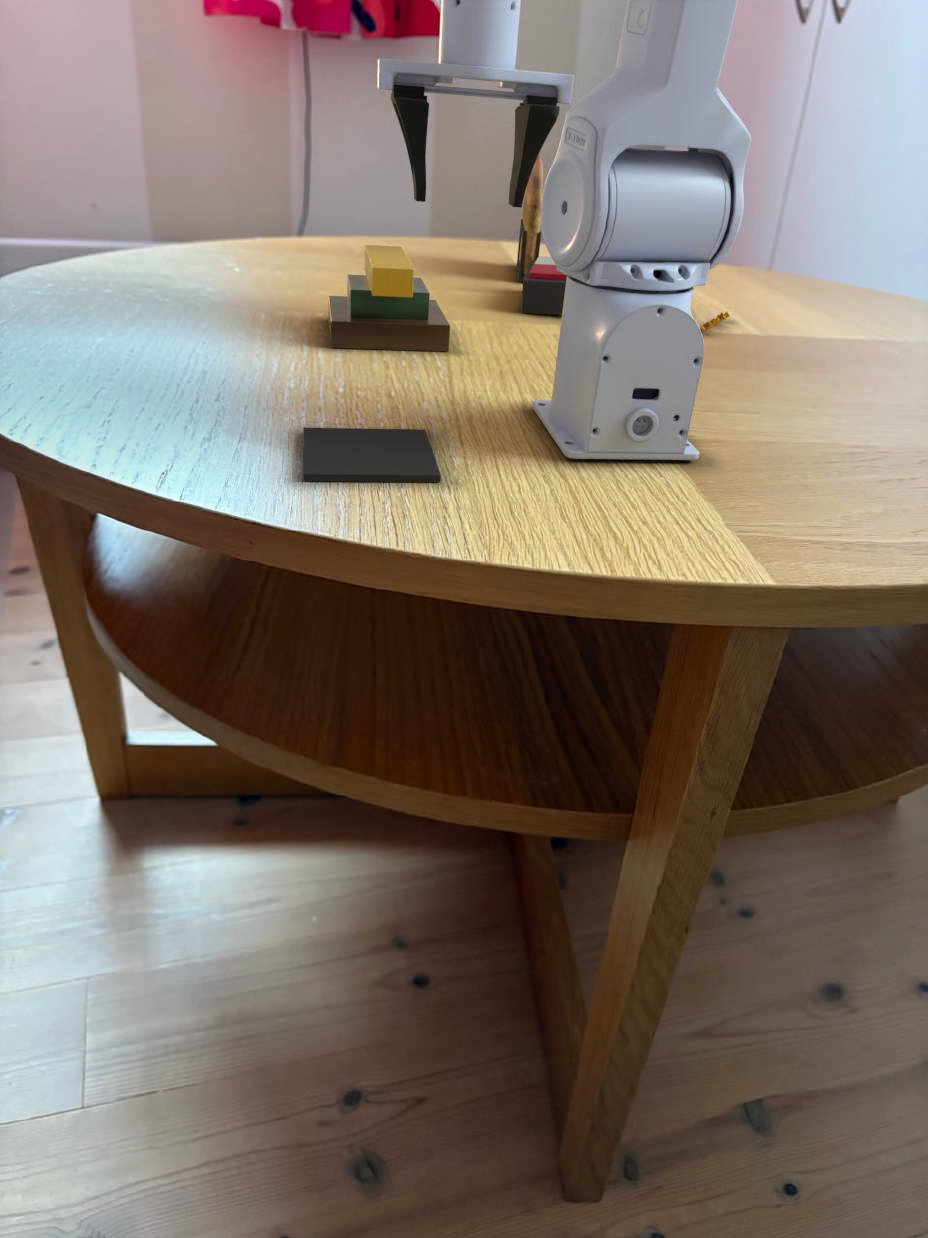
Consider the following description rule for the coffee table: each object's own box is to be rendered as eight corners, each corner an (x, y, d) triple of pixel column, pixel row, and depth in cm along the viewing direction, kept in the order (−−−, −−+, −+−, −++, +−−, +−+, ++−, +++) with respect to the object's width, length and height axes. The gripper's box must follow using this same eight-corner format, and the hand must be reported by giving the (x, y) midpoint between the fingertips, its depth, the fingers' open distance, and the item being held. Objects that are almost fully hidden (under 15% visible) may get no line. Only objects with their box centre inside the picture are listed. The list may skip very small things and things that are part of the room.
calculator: (533, 252, 90) (685, 259, 88) (531, 297, 92) (678, 304, 90) (522, 270, 80) (691, 278, 78) (520, 319, 82) (684, 328, 81)
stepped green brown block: (448, 351, 68) (452, 297, 66) (331, 348, 67) (330, 292, 65) (434, 323, 76) (437, 274, 74) (328, 320, 75) (328, 269, 73)
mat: (440, 482, 46) (440, 475, 46) (303, 481, 45) (303, 473, 45) (425, 435, 52) (425, 429, 52) (303, 433, 51) (303, 426, 50)
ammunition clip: (516, 265, 104) (527, 150, 98) (532, 266, 104) (544, 151, 98) (518, 282, 95) (530, 156, 89) (535, 283, 95) (549, 158, 89)
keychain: (720, 319, 86) (722, 308, 85) (731, 321, 85) (733, 310, 85) (694, 332, 80) (697, 321, 79) (706, 335, 79) (708, 323, 79)
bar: (412, 297, 66) (413, 269, 64) (372, 296, 65) (372, 267, 64) (400, 272, 74) (401, 246, 73) (364, 270, 73) (364, 244, 72)
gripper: (566, 7, 68) (545, 202, 75) (376, -12, 66) (373, 191, 73) (590, 0, 62) (565, 213, 69) (382, -20, 60) (378, 201, 67)
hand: (467, 202), depth 70 cm, fingers open, 7 cm apart
